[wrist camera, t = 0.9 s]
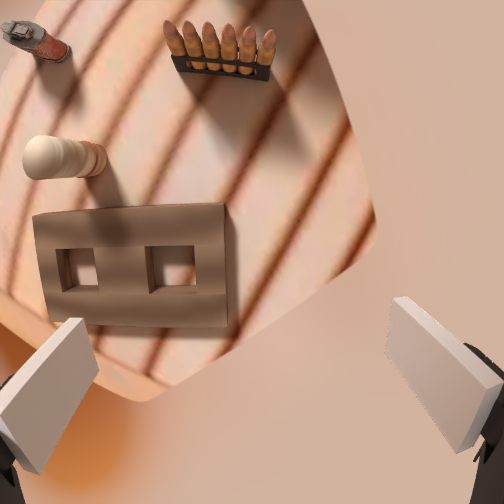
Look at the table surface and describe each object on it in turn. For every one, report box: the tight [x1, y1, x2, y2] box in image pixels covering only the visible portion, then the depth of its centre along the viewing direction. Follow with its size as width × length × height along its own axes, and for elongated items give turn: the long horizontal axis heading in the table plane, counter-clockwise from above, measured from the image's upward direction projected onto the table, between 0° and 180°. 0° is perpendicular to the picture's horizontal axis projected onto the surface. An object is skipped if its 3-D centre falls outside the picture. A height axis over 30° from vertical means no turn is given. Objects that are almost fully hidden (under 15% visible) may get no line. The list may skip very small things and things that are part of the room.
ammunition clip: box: [163, 20, 276, 81], centre depth 26 cm, size 11×2×12 cm, turn 81°
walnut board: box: [32, 203, 228, 328], centre depth 35 cm, size 14×24×3 cm, turn 91°
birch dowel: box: [22, 135, 107, 180], centre depth 28 cm, size 4×4×12 cm
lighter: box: [0, 21, 71, 63], centre depth 24 cm, size 8×3×10 cm, turn 61°
